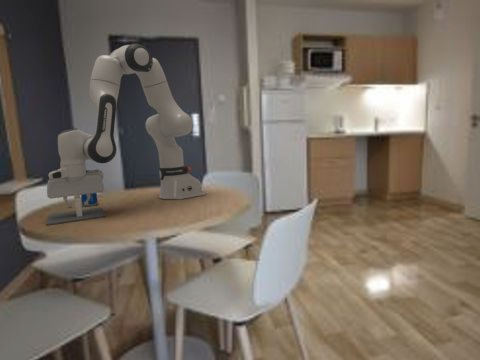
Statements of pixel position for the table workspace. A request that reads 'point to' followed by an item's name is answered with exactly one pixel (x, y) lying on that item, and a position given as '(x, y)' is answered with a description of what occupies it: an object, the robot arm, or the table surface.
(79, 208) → the tile
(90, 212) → the mat
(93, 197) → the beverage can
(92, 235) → the table surface
